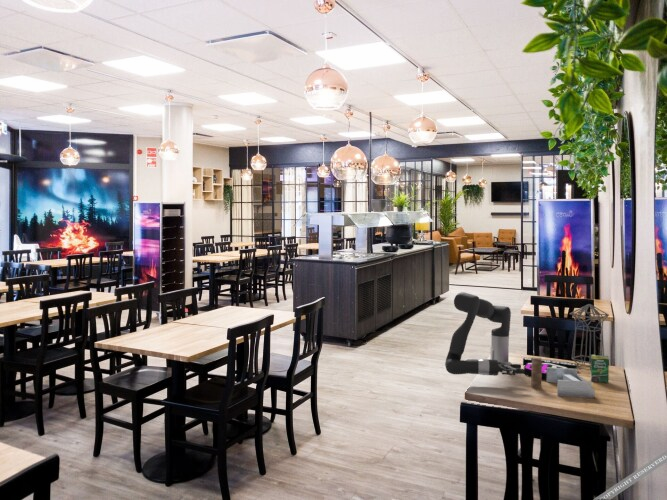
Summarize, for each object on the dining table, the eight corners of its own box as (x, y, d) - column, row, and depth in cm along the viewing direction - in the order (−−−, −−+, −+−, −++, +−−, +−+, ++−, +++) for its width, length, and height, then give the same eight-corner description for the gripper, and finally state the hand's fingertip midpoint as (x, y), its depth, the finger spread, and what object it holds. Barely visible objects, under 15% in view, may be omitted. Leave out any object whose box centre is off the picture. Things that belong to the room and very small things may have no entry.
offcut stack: (573, 394, 243) (574, 381, 243) (562, 386, 255) (562, 374, 255) (581, 394, 243) (582, 381, 243) (570, 386, 255) (570, 374, 255)
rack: (557, 395, 241) (558, 380, 240) (546, 381, 263) (546, 367, 263) (594, 397, 238) (594, 382, 238) (579, 383, 261) (579, 369, 260)
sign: (524, 363, 298) (515, 377, 272) (524, 357, 298) (515, 369, 272) (577, 370, 286) (573, 384, 259) (577, 363, 286) (573, 377, 259)
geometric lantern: (580, 362, 300) (582, 301, 298) (609, 369, 287) (611, 304, 286) (566, 367, 290) (567, 303, 289) (594, 373, 278) (596, 307, 276)
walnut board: (532, 388, 252) (533, 358, 251) (531, 386, 255) (531, 357, 254) (541, 388, 251) (542, 359, 251) (539, 386, 254) (540, 357, 254)
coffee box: (590, 381, 264) (591, 355, 263) (590, 379, 266) (590, 354, 266) (608, 383, 260) (609, 357, 260) (608, 381, 263) (608, 355, 262)
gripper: (489, 363, 249) (525, 365, 247) (485, 356, 263) (520, 357, 261) (489, 379, 249) (525, 381, 247) (485, 371, 263) (519, 372, 261)
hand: (522, 369), depth 254 cm, fingers open, 8 cm apart
